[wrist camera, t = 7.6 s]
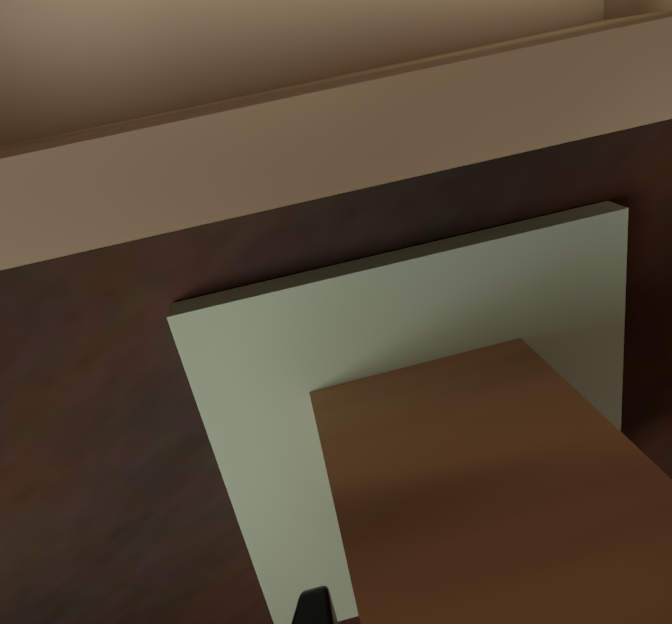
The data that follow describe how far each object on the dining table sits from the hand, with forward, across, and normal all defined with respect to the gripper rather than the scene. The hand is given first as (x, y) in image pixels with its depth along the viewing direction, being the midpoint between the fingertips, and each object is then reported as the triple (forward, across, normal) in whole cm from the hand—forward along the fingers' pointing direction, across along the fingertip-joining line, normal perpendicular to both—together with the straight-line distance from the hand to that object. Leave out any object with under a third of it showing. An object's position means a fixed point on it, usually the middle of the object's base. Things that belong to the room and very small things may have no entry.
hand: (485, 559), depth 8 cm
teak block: (+3, 0, 0) cm, 3 cm away
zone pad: (+3, 0, 0) cm, 3 cm away
